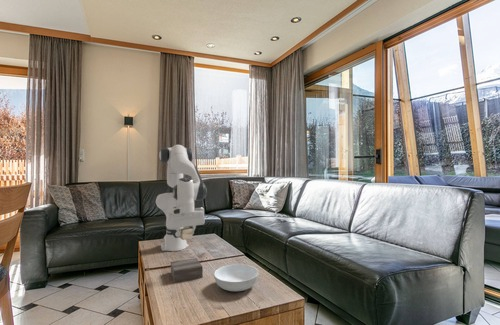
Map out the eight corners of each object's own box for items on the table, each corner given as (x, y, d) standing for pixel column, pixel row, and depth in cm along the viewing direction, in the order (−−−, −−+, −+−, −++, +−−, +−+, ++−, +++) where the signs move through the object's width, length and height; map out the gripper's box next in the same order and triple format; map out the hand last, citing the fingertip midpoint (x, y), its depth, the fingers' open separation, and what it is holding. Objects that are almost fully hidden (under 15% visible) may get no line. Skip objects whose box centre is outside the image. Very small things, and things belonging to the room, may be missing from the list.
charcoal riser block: (170, 273, 144) (170, 262, 144) (196, 269, 149) (196, 258, 149) (174, 283, 131) (174, 271, 131) (202, 278, 136) (202, 266, 136)
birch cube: (179, 237, 141) (179, 228, 141) (189, 236, 144) (189, 227, 144) (183, 240, 137) (183, 230, 137) (192, 238, 139) (192, 228, 140)
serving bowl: (207, 283, 130) (207, 269, 130) (245, 274, 140) (245, 261, 140) (225, 301, 112) (225, 285, 112) (267, 290, 122) (267, 275, 122)
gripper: (201, 206, 149) (202, 231, 149) (164, 209, 138) (165, 236, 137) (206, 207, 144) (206, 233, 143) (168, 211, 133) (168, 239, 132)
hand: (186, 235), depth 140 cm, fingers closed on birch cube, 5 cm apart
